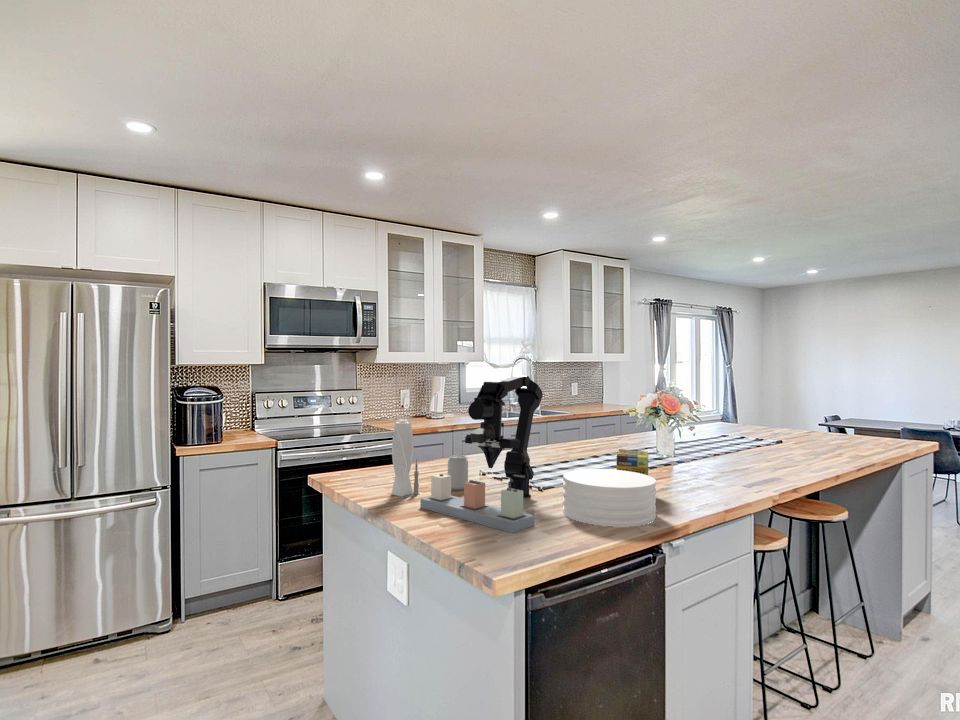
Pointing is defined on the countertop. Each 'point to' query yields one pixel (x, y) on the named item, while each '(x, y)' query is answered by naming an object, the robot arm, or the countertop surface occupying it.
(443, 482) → the cream block
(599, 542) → the countertop surface
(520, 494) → the green block
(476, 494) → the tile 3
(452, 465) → the can
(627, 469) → the protein box
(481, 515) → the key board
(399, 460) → the skyscraper
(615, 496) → the plate stack
